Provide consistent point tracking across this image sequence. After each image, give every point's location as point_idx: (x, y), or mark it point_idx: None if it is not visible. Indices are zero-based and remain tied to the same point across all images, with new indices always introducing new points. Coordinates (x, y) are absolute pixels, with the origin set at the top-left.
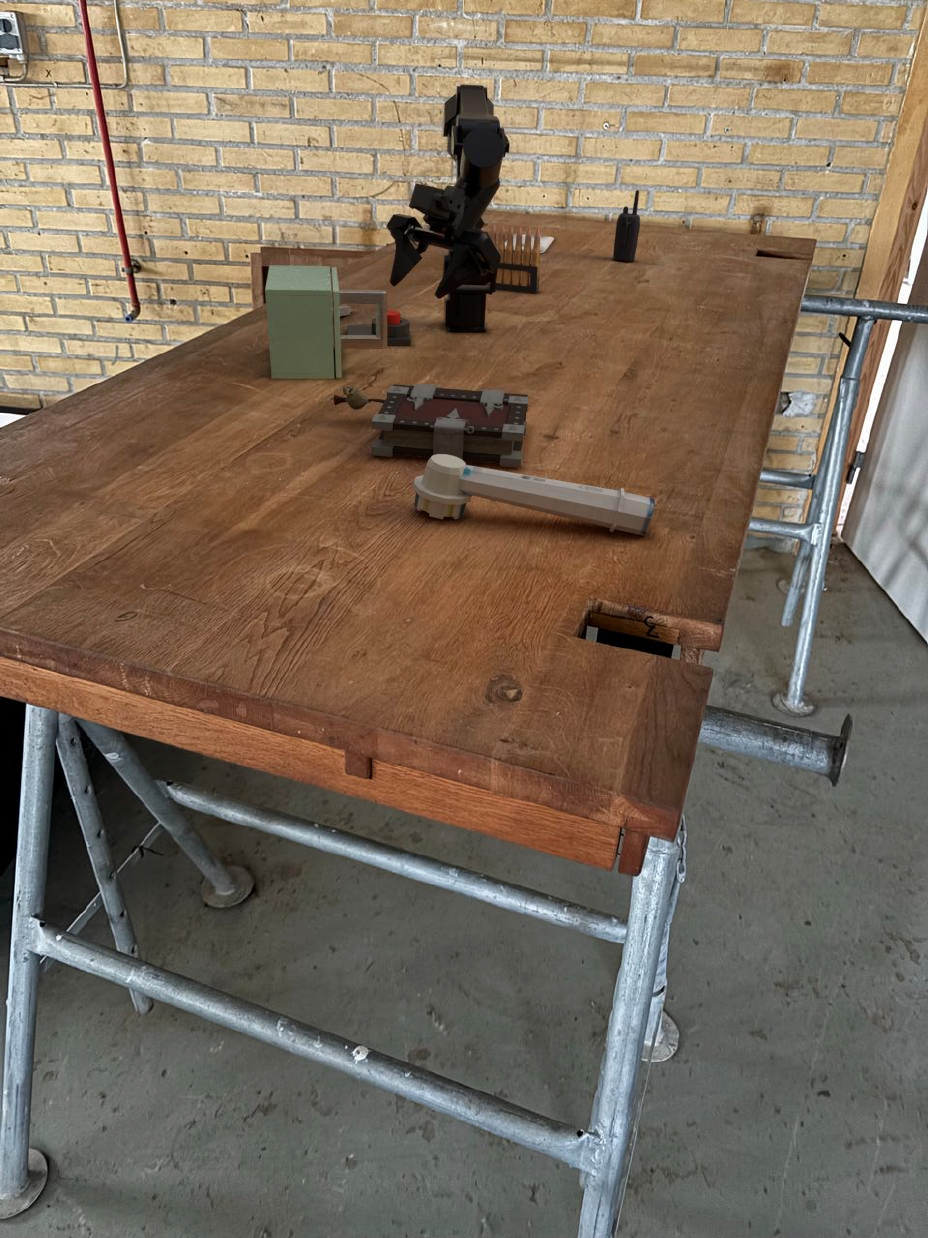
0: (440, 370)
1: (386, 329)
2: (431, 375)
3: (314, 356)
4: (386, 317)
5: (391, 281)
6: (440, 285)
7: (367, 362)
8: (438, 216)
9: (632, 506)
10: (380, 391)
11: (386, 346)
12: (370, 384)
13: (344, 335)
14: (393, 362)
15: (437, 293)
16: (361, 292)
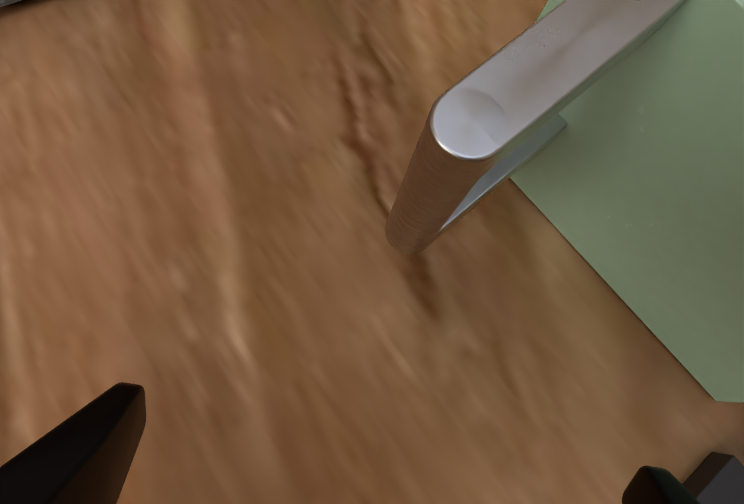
0: (244, 451)
1: (395, 207)
2: (241, 372)
3: None
4: (403, 188)
5: (648, 468)
6: (76, 429)
7: (524, 338)
8: None
9: None
10: (292, 118)
11: (385, 229)
12: (361, 152)
13: (548, 128)
14: (451, 406)
15: (113, 389)
16: (543, 16)
